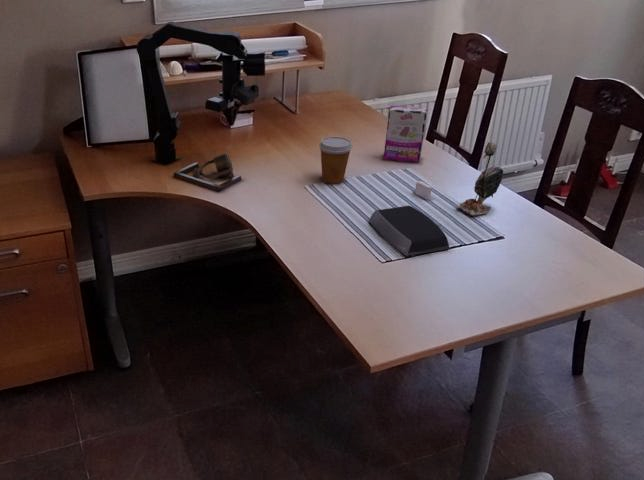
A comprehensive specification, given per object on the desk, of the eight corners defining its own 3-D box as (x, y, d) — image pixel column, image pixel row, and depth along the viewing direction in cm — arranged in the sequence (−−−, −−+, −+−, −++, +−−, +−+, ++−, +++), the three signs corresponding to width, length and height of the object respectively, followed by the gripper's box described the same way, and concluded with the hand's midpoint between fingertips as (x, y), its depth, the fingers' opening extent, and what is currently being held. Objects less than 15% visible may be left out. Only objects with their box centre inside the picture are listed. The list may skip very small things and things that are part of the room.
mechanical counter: (232, 168, 187) (238, 149, 193) (190, 162, 189) (198, 143, 196) (231, 187, 192) (237, 168, 199) (190, 181, 194) (198, 162, 201)
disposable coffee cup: (354, 178, 190) (358, 140, 184) (337, 188, 185) (341, 150, 178) (327, 170, 196) (330, 133, 190) (310, 180, 190) (313, 142, 184)
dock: (173, 177, 197) (173, 172, 196) (196, 166, 203) (195, 162, 202) (219, 192, 186) (219, 187, 185) (241, 180, 192) (241, 175, 192)
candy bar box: (420, 157, 202) (428, 107, 193) (419, 163, 198) (427, 112, 189) (384, 154, 206) (391, 104, 197) (382, 159, 202) (389, 109, 193)
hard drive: (402, 258, 150) (405, 243, 148) (366, 222, 166) (367, 208, 164) (452, 250, 153) (455, 235, 150) (411, 215, 169) (413, 201, 166)
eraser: (417, 192, 180) (419, 180, 178) (430, 198, 177) (432, 186, 175) (414, 193, 180) (416, 181, 178) (426, 199, 176) (428, 187, 174)
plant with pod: (504, 212, 168) (523, 140, 158) (468, 218, 166) (484, 146, 155) (484, 199, 175) (501, 130, 164) (449, 206, 172) (463, 135, 162)
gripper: (232, 87, 181) (232, 139, 189) (271, 73, 192) (269, 123, 201) (203, 81, 187) (204, 131, 196) (242, 67, 199) (242, 116, 207)
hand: (231, 125), depth 200 cm, fingers closed
